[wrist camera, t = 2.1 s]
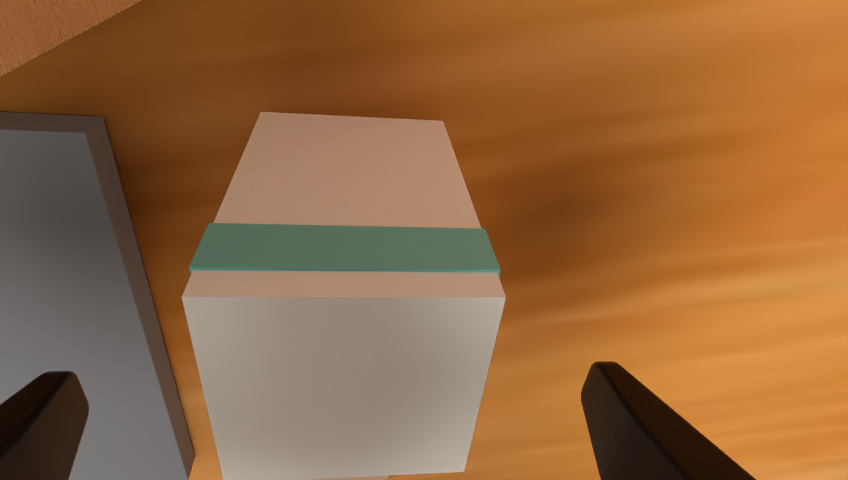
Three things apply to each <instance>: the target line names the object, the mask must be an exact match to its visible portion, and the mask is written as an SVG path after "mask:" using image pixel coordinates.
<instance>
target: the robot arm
mask: <svg viewBox="0 0 848 480" xmlns="http://www.w3.org/2000/svg"><path fill="white" fill-rule="evenodd" d="M581 401H582V406H583V410H584V414H585V418H586V422H587V426H588V430H589V434H590V438H591V443H592V447H593V451H594V455H595V459H596V463H597V467H598V471H599V474H600V478H601V480H756V479H755V478H754V477H752V476H751V475H750V474H749V473H748V472H746V471H745V470H744V469H743V468H742V467H741V466H739V465H738V464H737V463H736V462H735V461H733V460H732V459H731V458H730V457H729V456H727V455H726V454H725V453H724V452H723V451H722V450H720V449H719V448H718V447H717V446H716V445H714V444H713V443H712V442H711V441H710V440H708V439H707V438H706V437H705V436H704V435H702V434H701V433H700V432H699V431H698V430H697V429H695V428H694V427H693V426H692V425H691V424H689V423H688V422H687V421H686V420H685V419H683V418H682V417H681V416H680V415H679V414H678V413H676V412H675V411H674V410H673V409H672V408H670V407H669V406H668V405H667V404H666V403H664V402H663V401H662V400H661V399H660V398H659V397H657V396H656V395H655V394H654V393H653V392H651V391H650V390H649V389H648V388H647V387H645V386H644V385H643V384H642V383H641V382H639V381H638V380H637V379H636V378H635V377H634V376H632V375H631V374H630V373H629V372H628V371H626V370H625V369H624V368H623V367H622V366H620V365H619V364H618V363H616V362H595V363H594V364H592V366H591V368H590V370H589V373H588V375H587V378H586V380H585V383H584V385H583V388H582V392H581ZM88 415H89V403H88V400H87V398H86V395H85V393H84V391H83V388H82V386H81V384H80V381H79V379H78V377H77V375H76V374H75V373H74V372H72V371H49V372H45V373H43V374H41V375H39V376H38V377H37V378H35V379H34V380H32V381H31V382H30V383H28V384H27V385H26V386H24V387H23V388H22V389H20V390H19V391H18V392H16V393H15V394H14V395H12V396H11V397H9V398H8V399H7V400H5V401H4V402H3V403H1V404H0V480H69V477H70V474H71V470H72V467H73V464H74V461H75V458H76V454H77V451H78V448H79V445H80V441H81V438H82V435H83V432H84V428H85V425H86V422H87V419H88Z"/></svg>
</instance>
